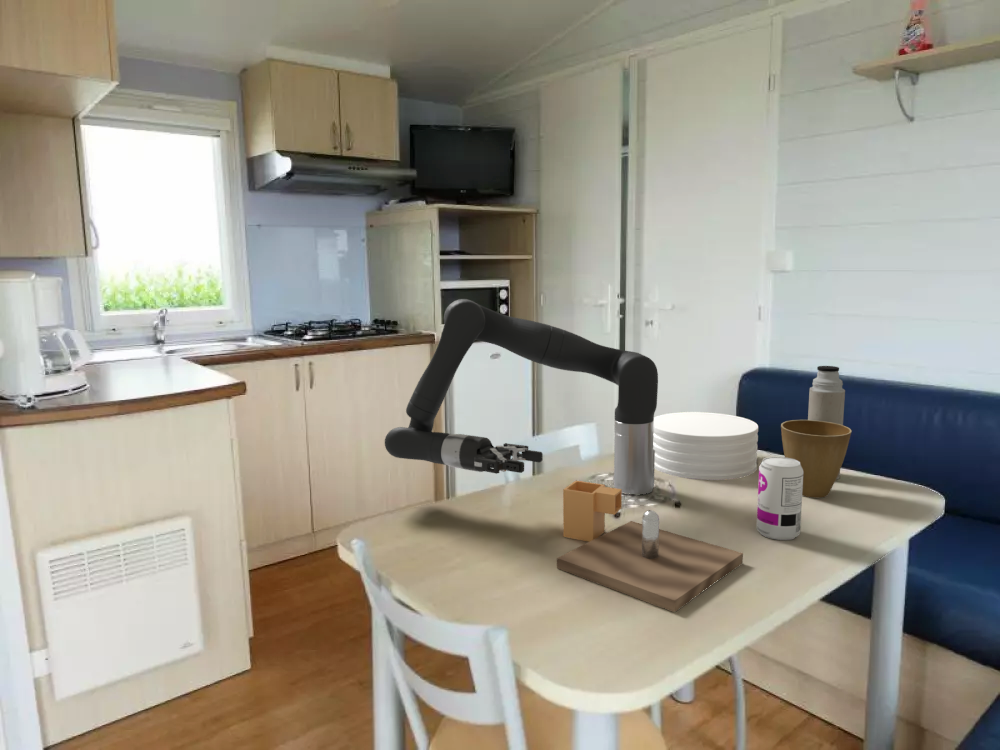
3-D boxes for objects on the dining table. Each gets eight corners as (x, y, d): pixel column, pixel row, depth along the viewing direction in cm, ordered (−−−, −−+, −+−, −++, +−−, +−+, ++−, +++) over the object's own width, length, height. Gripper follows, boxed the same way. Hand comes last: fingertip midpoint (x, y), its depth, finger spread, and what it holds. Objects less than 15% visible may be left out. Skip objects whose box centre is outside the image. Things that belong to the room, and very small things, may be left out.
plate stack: (693, 486, 170) (694, 441, 168) (628, 458, 196) (629, 418, 194) (780, 471, 181) (782, 428, 179) (708, 445, 207) (709, 408, 205)
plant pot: (771, 496, 162) (774, 429, 159) (785, 479, 174) (788, 417, 171) (842, 508, 153) (846, 438, 151) (851, 489, 166) (855, 423, 163)
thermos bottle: (830, 470, 180) (837, 363, 176) (845, 480, 172) (852, 368, 168) (799, 471, 180) (805, 364, 176) (813, 480, 172) (819, 369, 168)
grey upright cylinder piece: (647, 550, 128) (648, 506, 127) (661, 555, 126) (662, 510, 125) (638, 555, 126) (639, 511, 125) (652, 560, 124) (653, 515, 123)
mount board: (631, 530, 143) (631, 520, 143) (742, 563, 127) (742, 553, 127) (557, 568, 127) (556, 557, 126) (674, 612, 110) (674, 600, 110)
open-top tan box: (563, 536, 141) (563, 489, 139) (575, 526, 146) (575, 480, 145) (612, 546, 136) (612, 497, 134) (623, 534, 141) (623, 487, 140)
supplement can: (756, 538, 138) (759, 465, 135) (756, 523, 146) (759, 454, 143) (800, 543, 135) (804, 469, 133) (798, 528, 143) (802, 457, 140)
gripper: (448, 442, 146) (517, 453, 138) (483, 428, 158) (547, 437, 151) (449, 477, 147) (517, 489, 139) (483, 460, 160) (547, 470, 152)
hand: (532, 462), depth 145 cm, fingers open, 8 cm apart
